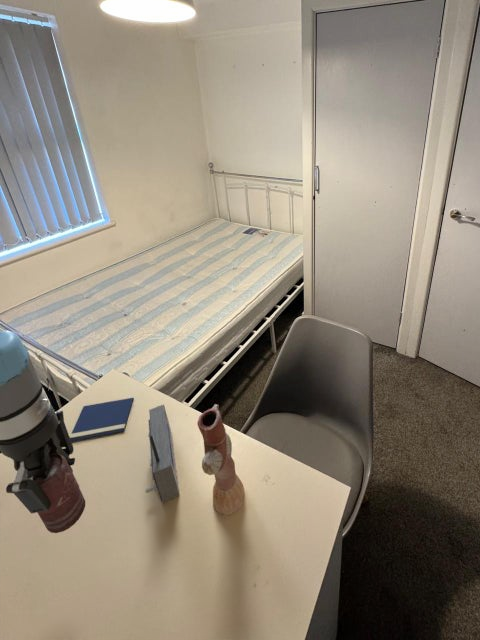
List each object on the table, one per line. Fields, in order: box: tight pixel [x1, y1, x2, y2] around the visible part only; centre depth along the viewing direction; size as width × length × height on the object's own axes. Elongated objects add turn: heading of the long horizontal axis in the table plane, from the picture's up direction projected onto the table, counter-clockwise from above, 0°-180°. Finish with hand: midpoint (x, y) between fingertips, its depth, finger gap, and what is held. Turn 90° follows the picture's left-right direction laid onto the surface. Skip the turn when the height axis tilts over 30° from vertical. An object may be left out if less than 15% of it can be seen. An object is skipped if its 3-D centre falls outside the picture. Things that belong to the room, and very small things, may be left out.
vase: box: [196, 403, 245, 516], centre depth 68 cm, size 10×7×30 cm
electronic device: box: [145, 404, 180, 503], centre depth 77 cm, size 17×7×20 cm, turn 26°
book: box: [69, 397, 135, 443], centre depth 93 cm, size 14×11×1 cm
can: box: [35, 453, 86, 534], centre depth 57 cm, size 6×6×14 cm
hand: (66, 501), depth 61 cm, fingers open, 3 cm apart
